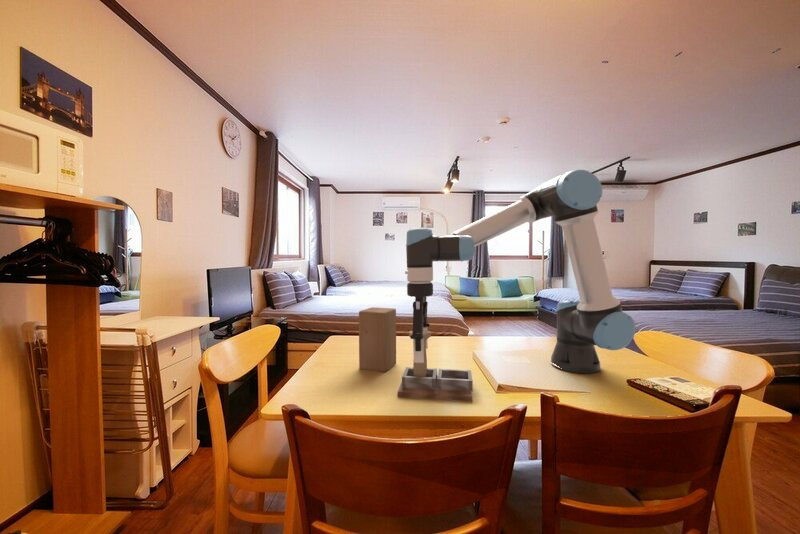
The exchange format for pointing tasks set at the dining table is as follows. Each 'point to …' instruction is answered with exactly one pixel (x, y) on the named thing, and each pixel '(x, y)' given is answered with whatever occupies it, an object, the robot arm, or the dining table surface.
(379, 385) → the dining table surface
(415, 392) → the grey double square tray
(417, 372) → the handle
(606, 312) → the robot arm
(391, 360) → the wooden block
